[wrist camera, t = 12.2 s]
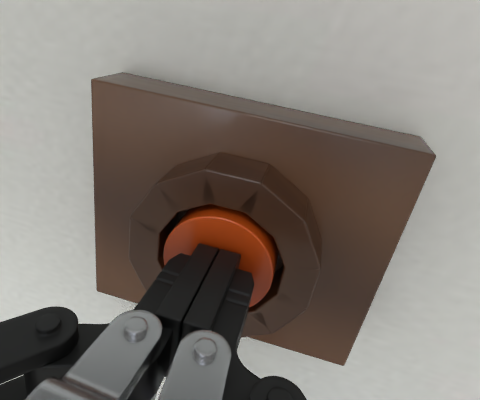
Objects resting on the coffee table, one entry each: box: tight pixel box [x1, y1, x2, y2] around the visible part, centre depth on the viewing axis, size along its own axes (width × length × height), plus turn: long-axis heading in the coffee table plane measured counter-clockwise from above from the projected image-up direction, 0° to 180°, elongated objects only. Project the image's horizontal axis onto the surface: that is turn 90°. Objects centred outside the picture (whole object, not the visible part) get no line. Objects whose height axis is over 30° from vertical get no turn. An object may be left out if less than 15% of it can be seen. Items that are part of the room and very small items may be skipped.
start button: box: [163, 204, 279, 307], centre depth 13 cm, size 4×4×2 cm
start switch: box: [91, 72, 436, 366], centre depth 15 cm, size 10×12×4 cm
